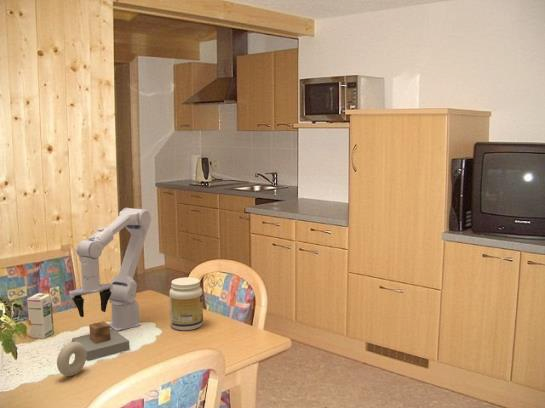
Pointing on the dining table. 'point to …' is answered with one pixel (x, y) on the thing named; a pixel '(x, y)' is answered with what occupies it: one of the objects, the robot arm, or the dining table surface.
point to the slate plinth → (103, 345)
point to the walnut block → (99, 332)
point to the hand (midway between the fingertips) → (92, 313)
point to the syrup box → (40, 315)
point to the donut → (65, 356)
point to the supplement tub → (186, 304)
